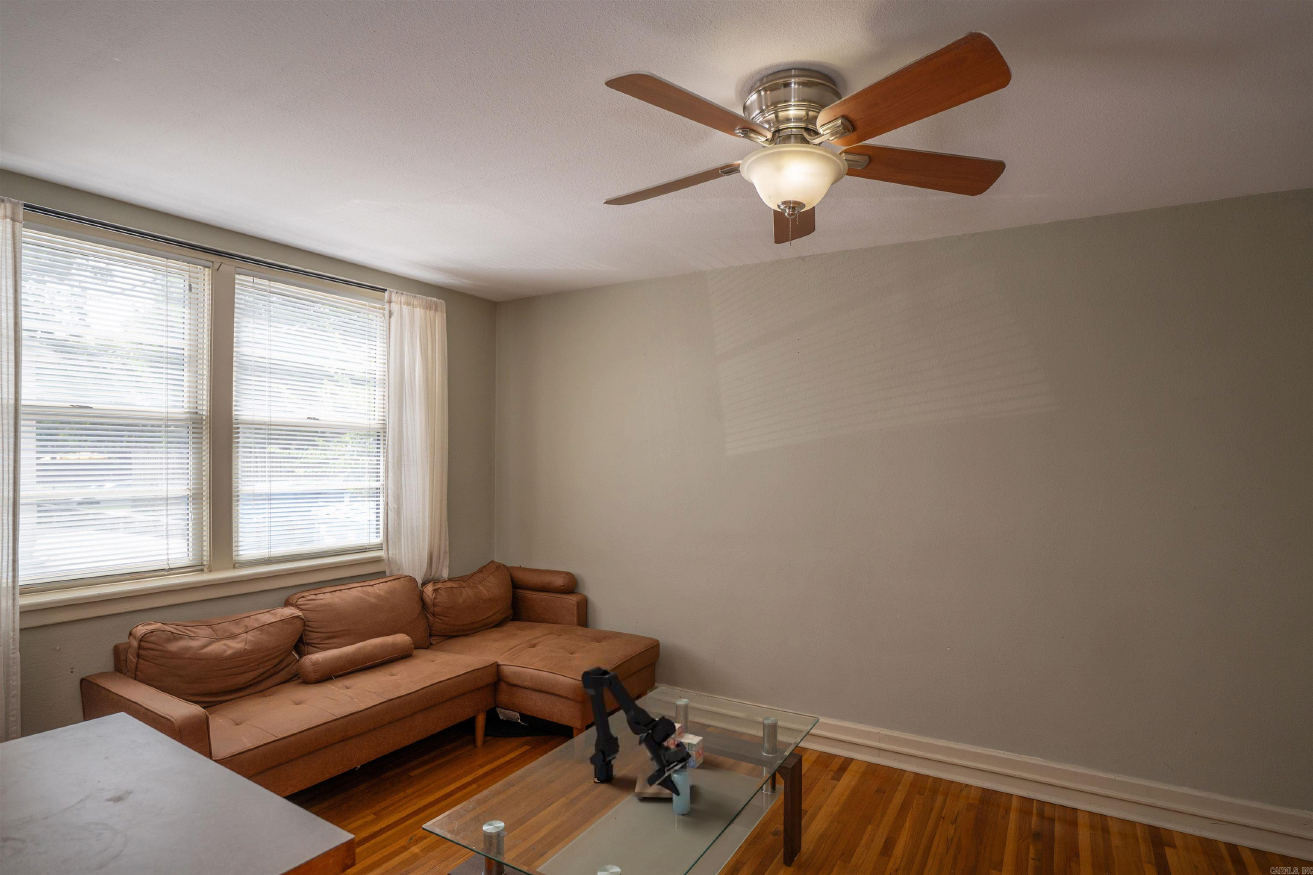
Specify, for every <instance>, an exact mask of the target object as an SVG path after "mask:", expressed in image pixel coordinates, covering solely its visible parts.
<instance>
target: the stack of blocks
mask: <svg viewBox="0 0 1313 875" xmlns="http://www.w3.org/2000/svg"><path fill="white" fill-rule="evenodd" d="M656 719H657V720H658V719H659V718H656ZM674 724H675V726H676V732H675V733H674V734H673V735H672V736H671V737H670V738H669V739H668V740H667V741H666V742H664V744H665V746H667V745H668V746H670V748H671V749H672V748H674V747H676V744H677V743H679V742H683V744H684V745H685V747H686V751H688V752H689V753H690V754H691V756H692V757H691V758H690V759H689V760H688V763H687V767H688V768H689V767H690V768H693V769H696V768H697V767H699V766H700V765H701V764H702V763H703V762H704V750H703V749H704V738H703V737H702V736H697V735H694V734H691V733H685V732H683V725H682V724H681V723H676V722H674ZM649 732H651V731H649ZM647 733H648V732H647ZM647 733H646V734H647ZM646 750H647V749H646ZM646 753H647V756H649V755H650V757H652V756H651V754H650V753H649V751H648V750H647V751H646ZM686 762H687V761H686ZM686 762H685V763H686Z"/></svg>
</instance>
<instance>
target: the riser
mask: <svg viewBox="0 0 1313 875" xmlns="http://www.w3.org/2000/svg"><path fill="white" fill-rule="evenodd" d="M651 774H652V773H649V774H647V773H639V774H638V776H637V780H636V785H635V790H634V798H635V797H636V799H637V800H639V801H640V800H643V799H644V798H645V797H646V798H672V799H673V793H672V792H670V791H669V790H667V789H665V788H663V787H661V786H660V785H658V786H657V785H656V784H657V783H659V782H658V781H657V782H656V784H654V785H653V786H651V787H650V786H649V784H648V783H647V778H648V777H649V776H650V775H651ZM671 776H672V774H671ZM672 780H673V776H672ZM690 785H691V786H692V781H691V780H690Z"/></svg>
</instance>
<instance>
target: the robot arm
mask: <svg viewBox="0 0 1313 875" xmlns="http://www.w3.org/2000/svg"><path fill="white" fill-rule="evenodd" d="M580 678H581V683H582V686H583V689H584V690H585V691H586V693H587V694H588V695H589V699H590V704H591V709H592V714H593V721H594V727H595V731H596V738H595V743H594V753H593V754H592V755H591V756H590V757H589V763H590V765H591V766H593V771H594V772H593V773H594V774H593V779H594V778H597V780H598V781H600V782H603V783H604V784H605V783H606V784H611V783H612V781H613V779H614V777H615V764H614V763H613V760H616V758H617V755H618V754H619V752H620V747H621V746H620V743H619V738H618V736H617V735H614V734H613V733H612V732H611V727H610V723H609V722H610V721H609V715H608V712H607V706H606V701H605V699H606V698H605V694H604V690H605V688H607V689H608V691H609V693H610V694H611V696H612V697H613V698H614V700H615V701H616V702H617V704H618V706H619V707H620V708H621V710H622V711H623V713H624V715H625V716H626V723H627V725H628V728H629V730H630V731H631V733H633V735H635V736H639V738H638V739H639V740H638V746H641V745H644V747H645V748H646V750H648V751H649V753H650V754H651V756H650V757H651V758H649V760H650V761H651V762H655V764H656V766H657V767H658V768H657V769H656V770H655V771H653V773H650V774H651V775H650V776H649V777H648V778H647V783H648V784H649V786H650V787H651V786H653V785H654V784H656V782H657V781H658V782H659V783H657V784H656V785H657V786H658V785H660V786H661V787H663V788H665V789H667V790H669V791H670V792H672V793H673V794H675V795H676V796H680V792H679V790H678V789H677V787H676V785H675V784H674V782H673V780H672V776H671V775H672V772H670V771H672V770H675V769H686V770H687V769H688V768H687V767H688V766H687V763H688V760H689V759H690V758H691V757H692V756H691V754H690V753H689V752H688V751H686V747H685V745H684V744H683V742H679V743H677V744H676V747H674V748H672V749H671V748H670V746H668V745H667V746H665V744H664V742H666V741H667V740H668V739H669V738H670V737H671V736H672V735H673V734H674V733H675V732H676V726H675V724H674V723H675V722H674V721H672V720H671V719H669V718H666V717H665V715H663V716H661V717H659V718H655V717H652V716H651V715H650V714H649V713H648V712H647V711H646V710H645V709H644V708H642V707H640V706H639V705H638V704H637V703H636V702H635V700H634V699H633V697H632V696H631V695H630V693H629V692H628V690H627V689H626V687H625V686H624V685H623V683H622V682H621V680H620V679H619V678H620V677H619V675H618V674H617V673H615V672H612V671H610V670H609V669H605V668H602V667H601V666H598V665H597V666H594V667H591V668H589V669H587V670H585V671H583V672H582V674H581V676H580ZM657 719H658V720H657ZM649 731H651V732H649ZM647 732H648V733H647ZM686 761H687V762H686ZM685 762H686V763H685ZM603 783H602V784H603ZM691 787H692V784H691V785H690V788H691Z"/></svg>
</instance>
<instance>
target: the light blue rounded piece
mask: <svg viewBox="0 0 1313 875" xmlns="http://www.w3.org/2000/svg"><path fill="white" fill-rule="evenodd" d="M671 775H672V776H673V782H674V784H675V785H676V787H677V789H678V790H679V792H680V796H676V795H675V794H673V798H672V811H673V813H674V814H675V813H676V814H675V815H678V814H680V815H679V816H682V815H681V814H685V815H687V814H686V813H688V812H689V811H691V794H690V793H691V792H690V790H691V789H690V788H691V787H690V781H691V779H690V771H689V770H688V769H687V768H686V769H673V771H672V772H671ZM689 813H690V812H689ZM689 813H688V814H689Z"/></svg>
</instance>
